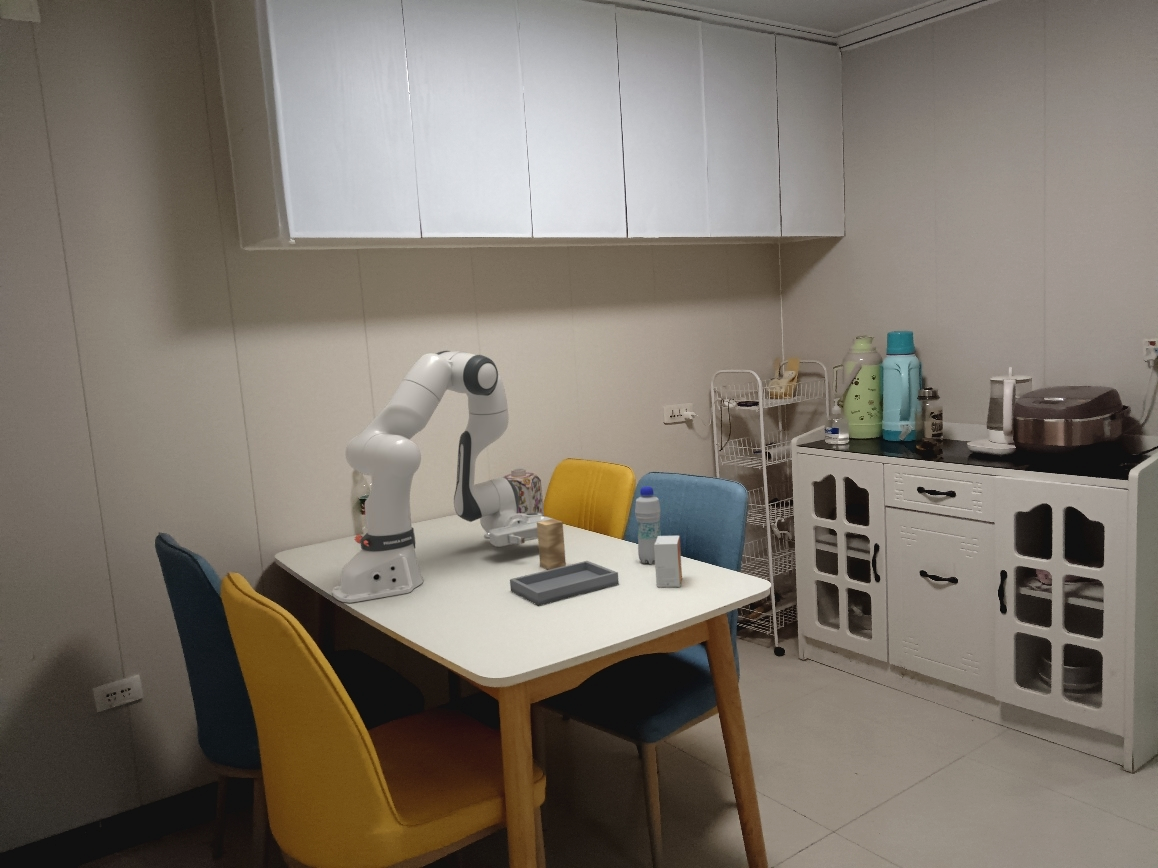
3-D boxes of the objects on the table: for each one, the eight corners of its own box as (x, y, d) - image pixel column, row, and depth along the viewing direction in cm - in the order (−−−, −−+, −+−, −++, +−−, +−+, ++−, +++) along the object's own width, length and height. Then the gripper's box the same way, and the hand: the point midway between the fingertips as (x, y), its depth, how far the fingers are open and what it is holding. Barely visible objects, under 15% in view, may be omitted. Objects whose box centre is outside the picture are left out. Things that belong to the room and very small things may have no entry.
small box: (680, 587, 190) (677, 543, 188) (656, 587, 191) (653, 544, 190) (682, 577, 198) (680, 535, 196) (659, 577, 199) (657, 535, 197)
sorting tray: (538, 605, 184) (537, 593, 183) (510, 591, 196) (509, 579, 195) (618, 584, 195) (617, 572, 195) (587, 572, 207) (587, 560, 207)
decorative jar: (512, 519, 273) (507, 466, 271) (545, 519, 270) (541, 465, 267) (499, 528, 261) (494, 473, 259) (533, 528, 258) (529, 472, 256)
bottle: (669, 560, 212) (664, 485, 209) (650, 566, 208) (646, 490, 205) (651, 556, 217) (646, 483, 214) (632, 562, 213) (628, 487, 210)
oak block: (549, 570, 211) (545, 525, 209) (540, 566, 215) (536, 522, 214) (565, 566, 213) (562, 521, 212) (556, 562, 218) (553, 518, 216)
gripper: (480, 524, 226) (502, 533, 214) (544, 511, 236) (568, 519, 225) (482, 546, 227) (504, 556, 215) (545, 533, 237) (570, 541, 225)
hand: (537, 537), depth 220 cm, fingers open, 8 cm apart
